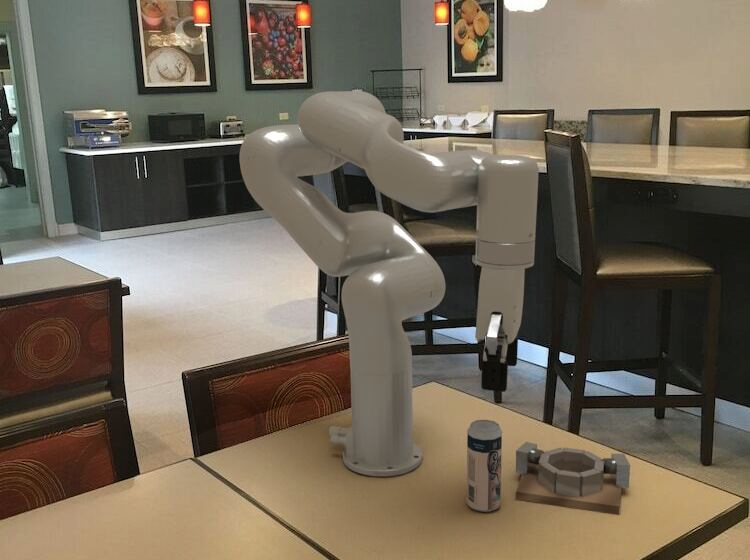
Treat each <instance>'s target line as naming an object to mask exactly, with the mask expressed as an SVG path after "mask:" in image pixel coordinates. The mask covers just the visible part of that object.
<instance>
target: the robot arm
mask: <svg viewBox="0 0 750 560" xmlns="http://www.w3.org/2000/svg"><path fill="white" fill-rule="evenodd" d="M345 163H351V164H352V165H355V166H357V167H359V168H361V169H362V170H364V172H365V174H366V176H367V177H368V179H369V181H370V182H371V183H372V186H374V188H375V189H376V190H377V191H379V192H380V193H381V194H383V195H384V196H386V197H387V198H390V199H392V200H393V201H396V202H398V203H400V204H402V205H404V206H406V207H408V208H411V209H413V210H416V211H420V212H423V213H439V212H446V211H449V210H454V209H461V208H462V209H463V208H468V207H473V206H474V207H475V206H476V229H475V230H476V233H475V236H476V237H475V258H474V259H475V261H474V262H475V264H476V265H478V266H480V267H481V271H480V278H479V283H478V295H477V296H478V297H477V309H476V322H475V323H476V325H475V340H476V341H477V342H482V341H484V340H485V341H484V349H483V356H482V360H481V361H482V362H481V363H482V364H481V385H480V386H481V389H482V390H484V391H493V392H502V393H505V392H506V391H507V389H508V367H516V366H517V364H518V351H519V350H518V347H519V337H518V332H519V329H520V327H521V324H522V317H523V316H522V315H523V306H524V297H525V295H524V292H525V270H526V269H529V268H531V267H533V266H534V265H535V249H536V248H535V247H536V231H537V230H536V227H537V212H538V211H537V210H538V209H537V207H538V192H539V191H538V188H539V165H538V163H537V161H536V159H534V158H532V157H530V156H527V155H518V154H495V153H490V152H486V151H484V150H477V149H464V150H462V149H461V150H453V151H452V150H451V151H450V150H449V151H439V152H432V153H430V152H429V153H428V152H424V151H421V150H419V149H415V148H413V147H411V146H410V145H409V146H408V145H407V144H404V129H403V126H402V124H401V123H400V121H399V120H398V119H397V118H396V117H395V116H393V115H390V114H388V113H386V110H385V106H384V105H383V104H382V102H381V101H380V99H378V97H376V96H374V95H373V94H371V93H369V92H367V91H359V90H351V91H350V90H345V91H343V90H342V91H332V90H331V91H322V92H317V93H314V94H313V95H311V96H309V97H308V98H307V99H305V100H304V101H303V102H302V104H301V106H300V108H299V109H298V114H297V124H278V125H270V126H265V127H261V128H258V129H257V130H254V131H252V132H251V133H249V134H248V135H247V136H246V137H245V138H244V140H243V141H242V144H241V146H240V150H239V165H240V173H241V176H242V180H243V181H244V184H245V186H246V189H247V191H248V192H249V194H250V196H251V197H252V198H253V200H254V201H255V202H256V203H257V204H258V205H259V206H260V207H261V208H262V209H263V210H264V212H266V213H267V214H268V215H269V216H270V217H272V218H273V219H274V220H275V221H276V222H277V223H278V224H279V225H280V226H281V227H282V228H283V229H284V230H285V231H286V232H287V233H288V235H289V236H290V237H291V238H292V239H293V241H294V242H295V243H296V244H297V245H298V246H299V248H300V249H302V251H303V252H304V253H305V254H306V255H307V257H309V259H310V260H311V261H312V262H313V263H314V264H315V265H316V267H318V269H319V270H321V271H322V272H323V273H325V274H326V275H327V276H330V277H335V278H337V277H338V278H339V277H346V276H347V277H346V279H345V280H344V282H343V285H342V288H341V296H340V297H341V305H342V309H343V314H344V318H345V322H346V323H345V324H346V327H347V336H348V345H349V366H350V368H349V369H350V371H349V372H350V400H351V401H350V402H351V403H350V405H351V409H350V410H351V426H349V427H346V428H345V427H342V426H337V425H335V426H333V425H331V426H330V427H329V429H328V436H329V438H330V439H329V441H330V444H332V445H333V444H334V445H343V446H344V450H343V452H342V462H343V464H344V465H345V466H346V467H347V468H348V469H349V470H351V471H353V472H356V474H360V475H364V476H370V477H380V478H381V477H394V476H399V475H403V474H406V473H409V472H411V471H413V470H415V469H416V468H418V467H419V466H420V465H421V463H422V462H423V459H424V456H423V454H424V452H423V449H422V447H420V445H419V444H417V443H416V442H415V441H414V439H413V438H414V437H413V436H414V435H413V434H414V431H413V430H414V429H413V427H414V426H413V420H414V419H413V414H414V412H413V353H412V346H411V342H410V340H409V338H408V336H407V334H406V332H405V330H404V328H403V325H402V323H403V321H405V320H407V319H410V318H412V317H415V316H418V315H422V314H424V313H427V312H429V311H431V310H434V309H435V308H436V307H437V306H439V305H440V303H442V300H443V299H444V296H445V293H446V280H445V277H444V276H445V275H444V273H443V270H442V269H441V267H440V266H439V264H438V263H437V261H436V260H435V259H434V258H433V256H432V255H431V254H430V253H429V252H428V251H427V250H426V249H425V248H424V247H423V246H422V245H421V244H420V243H419V241H417V240H416V239H415V238H414V237H413V236H412V235H411V234H410V233H409V232H408V231H407V230H406V229H405V228H404V226H402V225H401V224H400V223H399V222H398V221H397V220H396V219H395V218H394V217H392V216H390V215H388V214H386V213H384V212H382V211H378V210H363V211H359V212H358V211H357V212H345V211H343V210H341V209H340V208H339V207H337V206H336V205H335V204H334V203H333V202H332V201H331V200H330V198H328V196H327V195H326V194H325V193H323V192H322V191H321V190H320V189H318V188H317V187H315V186H314V185H312V184H310V183H308V182H306V181H304V180H302V179H301V178H299V177H305V176H306V177H307V176H313V175H315V176H317V175H321V174H326V173H329V172H332V171H334V170H336V169H338V168H339V167H341V166H343V165H344V164H345Z"/></svg>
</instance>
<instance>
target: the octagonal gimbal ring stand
mask: <svg viewBox="0 0 750 560" xmlns="http://www.w3.org/2000/svg"><path fill="white" fill-rule="evenodd" d="M621 495H622V488H616V487H615V485H614V482H613V480H612V478H611V476H610V474H604V461H603V458H601V457H599V456H598V455H596V454H594V453H593V452H591V451H589V450H587V451H586V449H578V448H570V447H563V448H562V447H558V448H554V449H550V450H546V451H544V452H543V453H542V454H541V457H540V460H539V465H537V466H536V467H535V468H534V469H533V470H532V471H531V472H530V473H529V474H528V475H524V474H521V477H520V479H519V482H518V484H517V487H516V490H515V500H518V501H525V502H532V503H539V504H546V505H550V506H551V505H552V506H558V507H559V506H560V507H565V508H571V509H578V510H586V511H593V512H599V513H606V514H613V515H620V508H621V499H622V498H621V497H622V496H621Z"/></svg>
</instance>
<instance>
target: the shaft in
mask: <svg viewBox="0 0 750 560" xmlns="http://www.w3.org/2000/svg"><path fill="white" fill-rule="evenodd" d="M543 452H545V451H544V450H542V449H538V443H533V442H531V441H530V442H529V441H525V442H524V443H523V444H521V446H520V447H518V448H517V449H516V450H515V473H517V474H520V475H522V474H524V475H528V474H529V473H530V472H531V471H532V470H533V469H534V468H535V467H536V466H537V465H539V460H540V457H541V454H542V453H543Z"/></svg>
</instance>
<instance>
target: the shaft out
mask: <svg viewBox="0 0 750 560" xmlns="http://www.w3.org/2000/svg"><path fill="white" fill-rule="evenodd" d="M625 454H626V453H611V454H610V457H611V458H610V457H608V458H607V457H605V458H604V457H603V458H602V459H603V461H604V474H610V476H611V478H612V480H613V482H614V485H615V487H616V488H621V489H622V488H623V489H624V488H626V489H628V488H630V475H631V474H630V472H631V464H630V462H629V460H628V458H627V457H626V455H625Z"/></svg>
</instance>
